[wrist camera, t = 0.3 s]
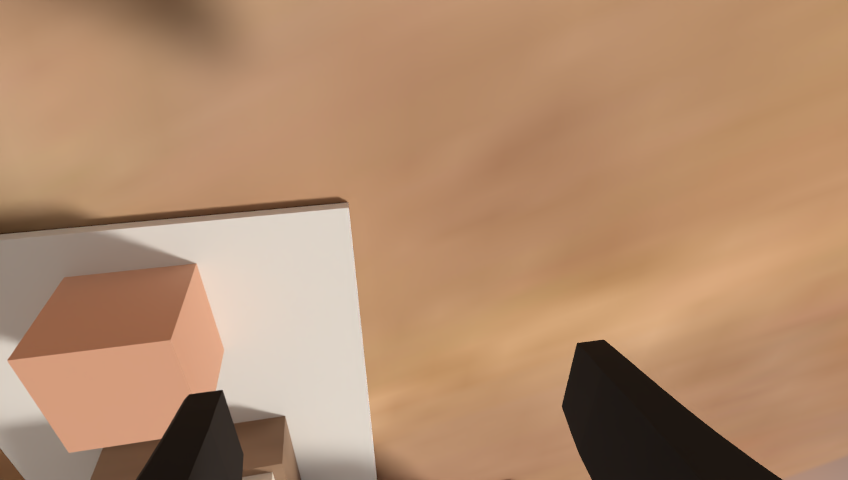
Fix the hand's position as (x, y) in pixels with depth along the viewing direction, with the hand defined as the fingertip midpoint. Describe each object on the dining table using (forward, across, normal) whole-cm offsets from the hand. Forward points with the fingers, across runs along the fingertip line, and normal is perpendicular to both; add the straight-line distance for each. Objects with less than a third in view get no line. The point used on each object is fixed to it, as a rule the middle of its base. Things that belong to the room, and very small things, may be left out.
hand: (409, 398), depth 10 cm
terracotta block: (+9, +9, +5) cm, 14 cm away
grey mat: (+10, +9, +11) cm, 17 cm away
